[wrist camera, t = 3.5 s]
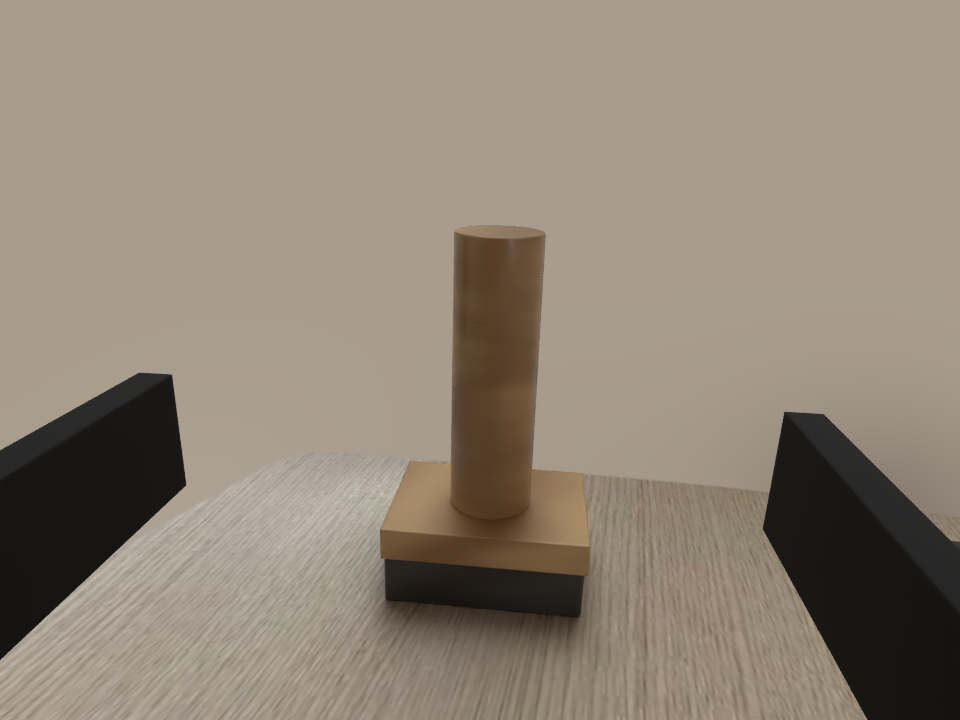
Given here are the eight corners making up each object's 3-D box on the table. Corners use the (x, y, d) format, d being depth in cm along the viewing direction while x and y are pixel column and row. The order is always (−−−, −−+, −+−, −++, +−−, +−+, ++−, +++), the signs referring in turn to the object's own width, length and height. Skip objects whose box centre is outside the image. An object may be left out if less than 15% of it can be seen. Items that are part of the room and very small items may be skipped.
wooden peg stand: (381, 601, 24) (372, 237, 20) (410, 522, 29) (408, 217, 24) (583, 620, 23) (618, 247, 19) (577, 535, 28) (604, 225, 24)
